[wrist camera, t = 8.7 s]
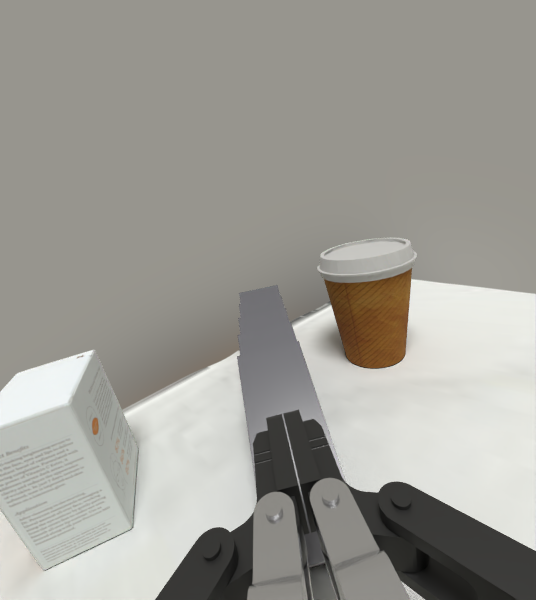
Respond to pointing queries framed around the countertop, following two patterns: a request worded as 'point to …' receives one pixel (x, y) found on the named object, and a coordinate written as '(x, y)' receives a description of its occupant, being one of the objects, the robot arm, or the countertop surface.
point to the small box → (65, 459)
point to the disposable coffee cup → (370, 297)
